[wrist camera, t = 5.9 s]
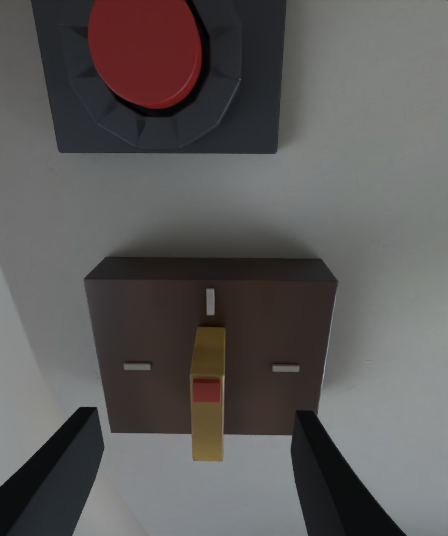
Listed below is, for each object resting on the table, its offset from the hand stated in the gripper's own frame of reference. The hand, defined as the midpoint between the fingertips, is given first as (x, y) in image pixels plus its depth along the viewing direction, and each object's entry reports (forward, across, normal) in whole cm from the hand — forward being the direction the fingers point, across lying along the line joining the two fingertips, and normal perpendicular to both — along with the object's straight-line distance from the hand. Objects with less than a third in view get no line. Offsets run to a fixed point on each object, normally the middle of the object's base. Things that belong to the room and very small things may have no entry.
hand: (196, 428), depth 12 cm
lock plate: (+8, 0, +1) cm, 8 cm away
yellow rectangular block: (+5, 0, +1) cm, 5 cm away
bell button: (+5, +2, -13) cm, 14 cm away
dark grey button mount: (+8, +2, -13) cm, 15 cm away
